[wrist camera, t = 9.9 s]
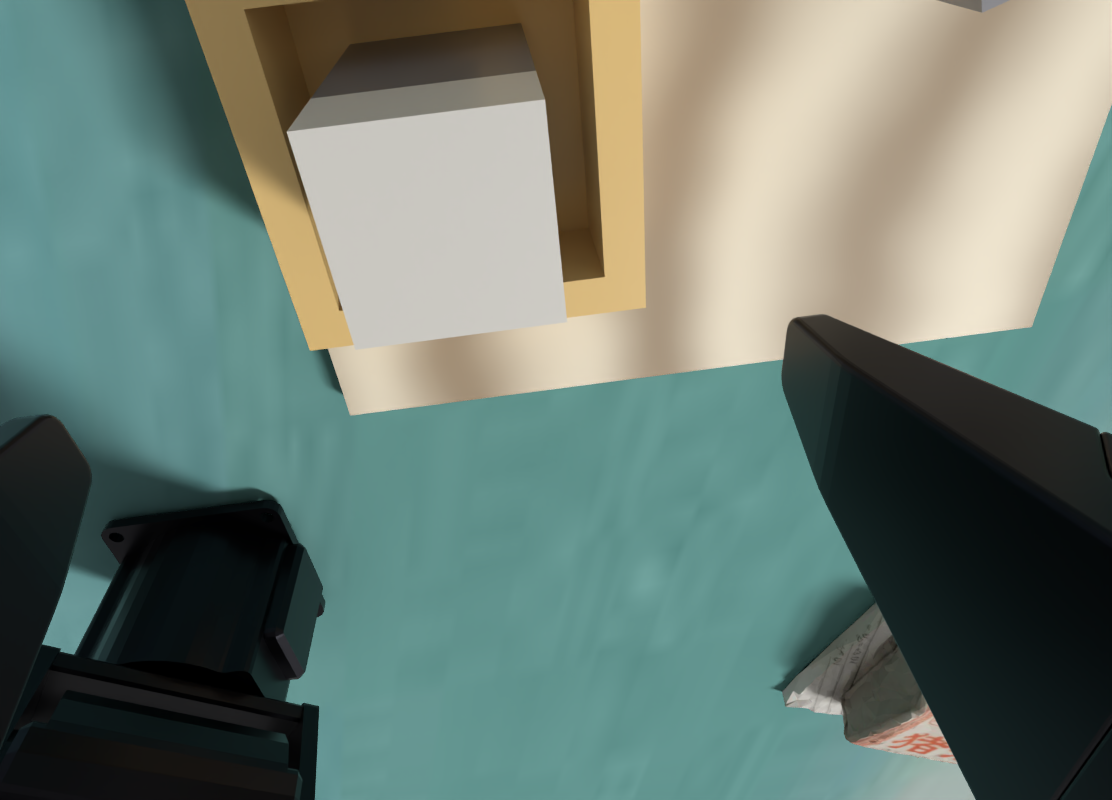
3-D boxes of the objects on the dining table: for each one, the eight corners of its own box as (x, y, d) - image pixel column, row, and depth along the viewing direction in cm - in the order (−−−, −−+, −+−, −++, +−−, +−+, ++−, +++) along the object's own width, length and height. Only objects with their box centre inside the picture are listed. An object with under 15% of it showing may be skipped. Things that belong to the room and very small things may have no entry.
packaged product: (1220, 721, 35) (1062, 813, 40) (1146, 636, 39) (1010, 730, 44) (951, 659, 29) (808, 776, 34) (896, 567, 33) (774, 684, 38)
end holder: (332, 284, 21) (309, 350, 18) (224, -62, 16) (167, -47, 13) (622, 247, 21) (645, 307, 18) (608, -107, 16) (638, -103, 13)
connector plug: (390, 208, 19) (355, 349, 13) (350, 44, 17) (286, 131, 11) (539, 189, 19) (567, 322, 13) (521, 23, 17) (544, 99, 11)
